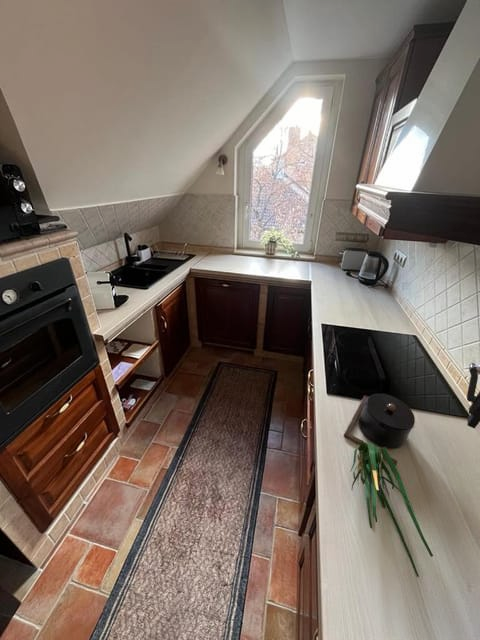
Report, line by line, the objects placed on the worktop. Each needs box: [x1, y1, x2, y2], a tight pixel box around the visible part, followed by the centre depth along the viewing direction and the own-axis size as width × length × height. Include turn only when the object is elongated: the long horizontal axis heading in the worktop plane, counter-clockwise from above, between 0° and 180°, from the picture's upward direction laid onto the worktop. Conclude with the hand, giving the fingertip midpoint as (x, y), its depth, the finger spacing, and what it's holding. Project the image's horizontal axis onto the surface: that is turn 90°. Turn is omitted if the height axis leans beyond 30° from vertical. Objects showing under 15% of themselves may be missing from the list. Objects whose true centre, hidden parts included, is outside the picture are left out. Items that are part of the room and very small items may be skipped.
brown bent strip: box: [343, 395, 398, 466], centre depth 85 cm, size 15×22×1 cm
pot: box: [357, 393, 416, 450], centre depth 82 cm, size 14×16×12 cm
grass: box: [349, 439, 434, 578], centre depth 62 cm, size 18×15×25 cm
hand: (471, 423), depth 67 cm, fingers closed
